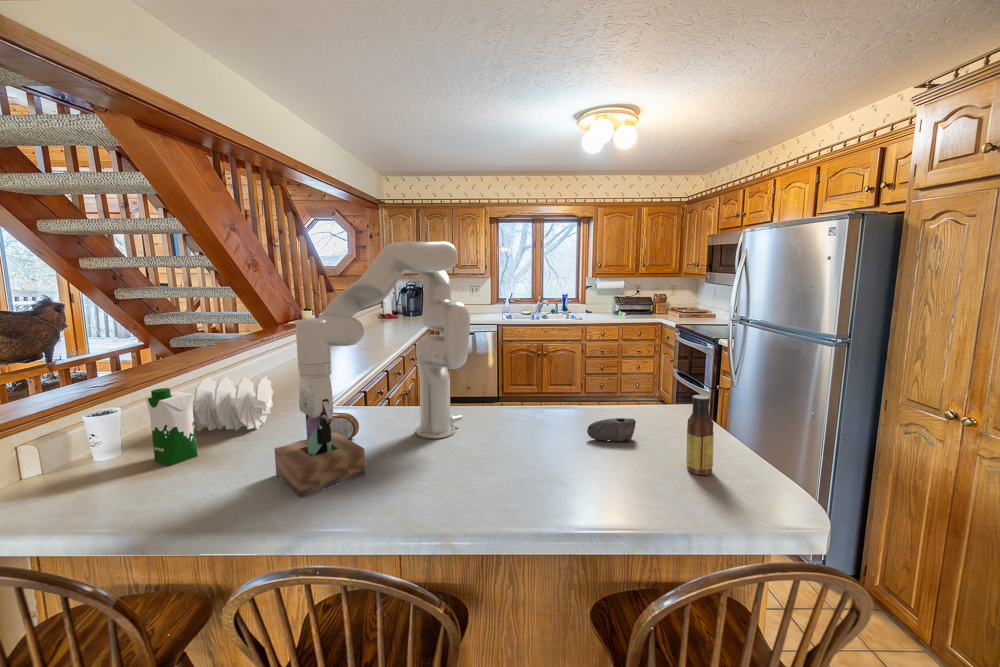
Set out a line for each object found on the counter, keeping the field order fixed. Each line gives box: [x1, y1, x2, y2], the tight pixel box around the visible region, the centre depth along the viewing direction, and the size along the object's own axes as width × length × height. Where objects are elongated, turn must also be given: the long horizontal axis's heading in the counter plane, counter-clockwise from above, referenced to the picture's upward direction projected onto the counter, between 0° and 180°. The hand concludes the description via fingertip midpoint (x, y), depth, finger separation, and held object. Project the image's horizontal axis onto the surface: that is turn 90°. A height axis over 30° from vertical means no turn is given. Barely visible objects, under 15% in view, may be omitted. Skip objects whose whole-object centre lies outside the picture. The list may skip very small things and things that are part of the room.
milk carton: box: [145, 387, 198, 467], centre depth 118 cm, size 9×9×20 cm
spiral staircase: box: [193, 375, 274, 432], centre depth 142 cm, size 18×18×25 cm
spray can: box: [305, 401, 331, 457], centre depth 108 cm, size 6×6×20 cm
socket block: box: [273, 433, 366, 498], centre depth 109 cm, size 16×16×7 cm
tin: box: [331, 412, 360, 441], centre depth 133 cm, size 15×3×8 cm, turn 84°
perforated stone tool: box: [586, 417, 637, 442], centre depth 133 cm, size 15×5×7 cm, turn 86°
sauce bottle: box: [686, 394, 715, 476], centre depth 111 cm, size 7×6×20 cm
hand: (319, 438), depth 109 cm, fingers closed on spray can, 5 cm apart
